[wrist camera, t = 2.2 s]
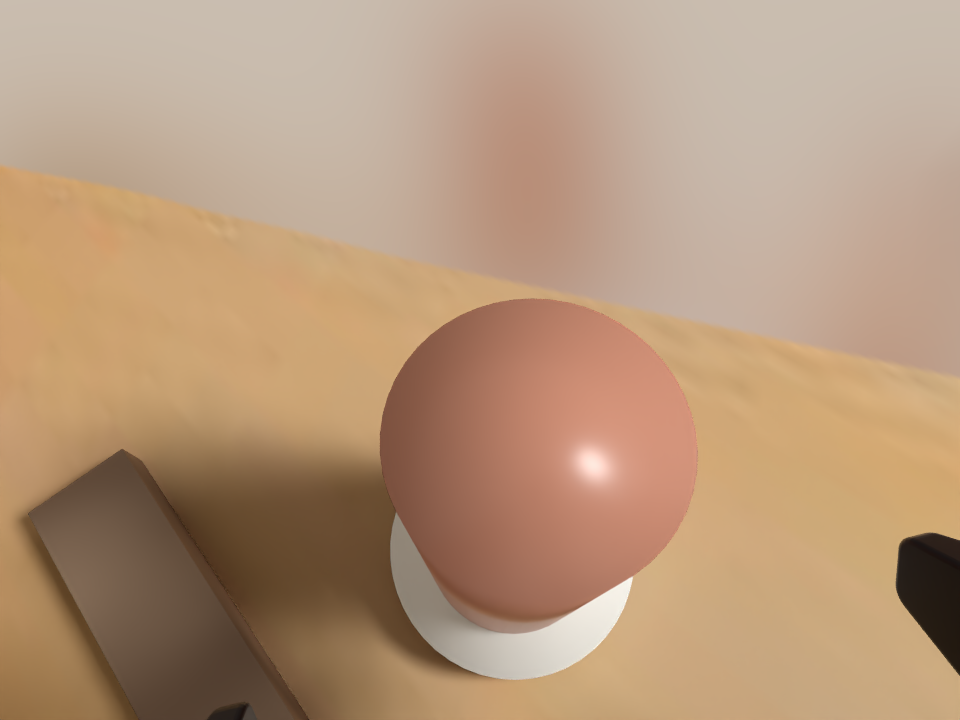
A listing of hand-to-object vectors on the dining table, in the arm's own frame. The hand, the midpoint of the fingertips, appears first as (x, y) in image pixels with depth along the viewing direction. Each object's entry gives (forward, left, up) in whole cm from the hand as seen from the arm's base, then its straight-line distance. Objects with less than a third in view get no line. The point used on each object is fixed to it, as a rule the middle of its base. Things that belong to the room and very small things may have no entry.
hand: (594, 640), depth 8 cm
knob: (+2, +2, -10) cm, 11 cm away
